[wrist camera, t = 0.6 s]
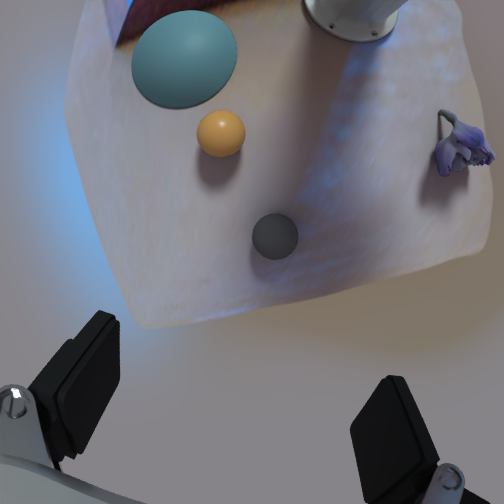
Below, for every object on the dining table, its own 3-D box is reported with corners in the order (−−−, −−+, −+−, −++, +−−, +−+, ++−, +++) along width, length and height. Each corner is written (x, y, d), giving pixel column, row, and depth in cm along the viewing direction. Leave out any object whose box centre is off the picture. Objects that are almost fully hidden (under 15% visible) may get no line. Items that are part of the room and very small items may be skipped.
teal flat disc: (169, -2, 29) (169, -3, 29) (258, 37, 31) (258, 37, 31) (114, 82, 34) (113, 81, 34) (197, 126, 36) (197, 126, 36)
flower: (432, 102, 27) (488, 173, 25) (462, 88, 28) (510, 148, 27) (399, 143, 36) (445, 203, 34) (431, 124, 37) (472, 178, 36)
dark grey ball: (269, 200, 39) (268, 211, 34) (304, 224, 40) (309, 238, 35) (245, 235, 41) (241, 250, 36) (280, 257, 42) (281, 275, 37)
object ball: (217, 103, 35) (208, 99, 30) (256, 126, 36) (253, 125, 31) (194, 141, 37) (182, 142, 32) (231, 163, 38) (225, 169, 32)
